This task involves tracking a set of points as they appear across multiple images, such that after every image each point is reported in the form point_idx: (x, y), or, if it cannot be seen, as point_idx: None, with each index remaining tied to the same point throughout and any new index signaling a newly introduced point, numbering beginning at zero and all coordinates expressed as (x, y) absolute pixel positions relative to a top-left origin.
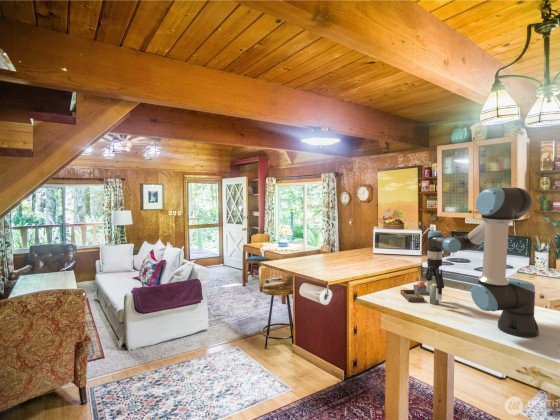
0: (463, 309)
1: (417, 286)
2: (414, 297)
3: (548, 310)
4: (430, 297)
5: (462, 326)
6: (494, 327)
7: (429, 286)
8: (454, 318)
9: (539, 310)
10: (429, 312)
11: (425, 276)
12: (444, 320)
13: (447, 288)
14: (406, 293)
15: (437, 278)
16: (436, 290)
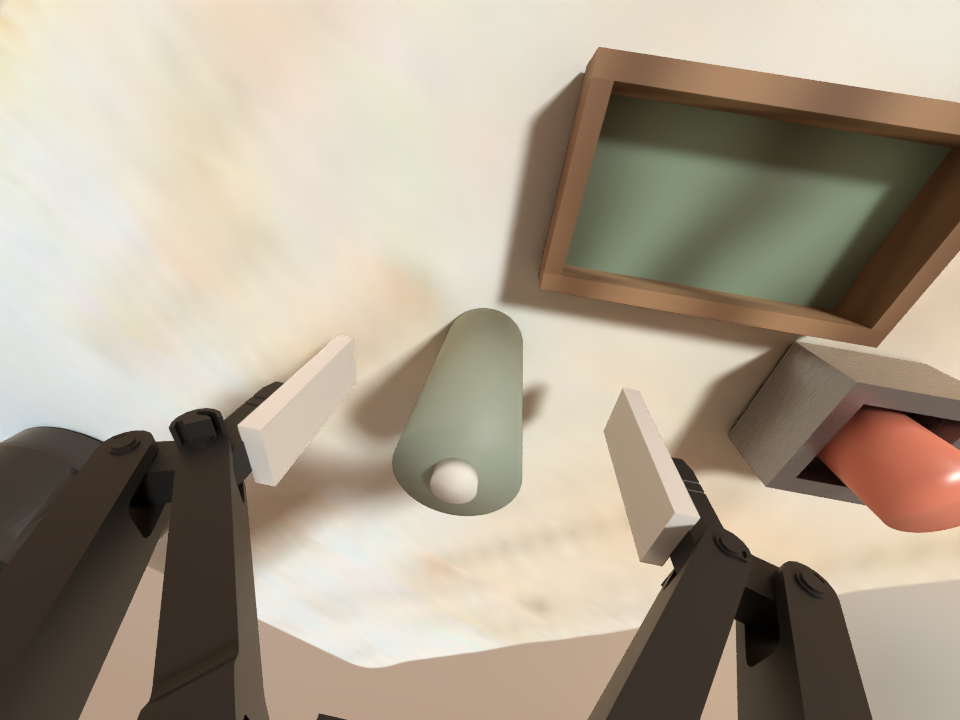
0: (357, 453)
1: (936, 429)
2: (582, 160)
3: (368, 663)
4: (474, 335)
5: (5, 264)
6: (92, 426)
7: (630, 459)
8: (156, 302)
9: (366, 649)
10: (245, 161)
11: (828, 602)
12: (72, 193)
13: None
14: (902, 217)
15: (28, 625)
16: (286, 399)
